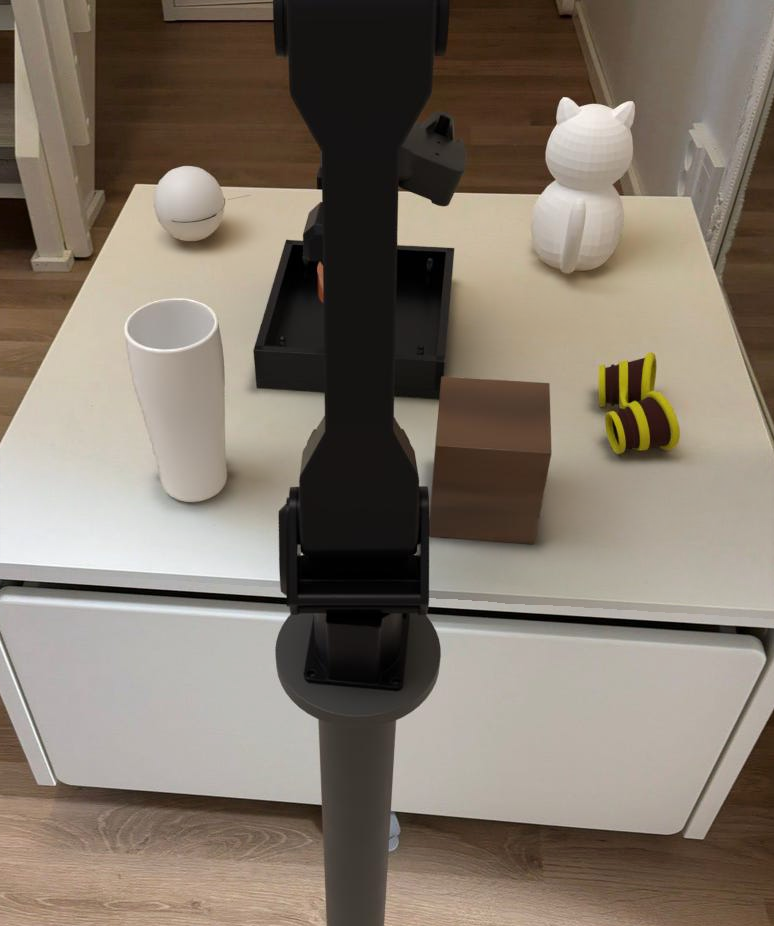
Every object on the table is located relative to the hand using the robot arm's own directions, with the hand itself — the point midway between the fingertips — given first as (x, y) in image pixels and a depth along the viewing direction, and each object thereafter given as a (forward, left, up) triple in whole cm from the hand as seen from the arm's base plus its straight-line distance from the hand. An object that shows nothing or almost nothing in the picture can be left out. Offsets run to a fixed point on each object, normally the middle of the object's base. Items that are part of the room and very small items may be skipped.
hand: (356, 282), depth 88 cm
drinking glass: (-19, +11, -8) cm, 23 cm away
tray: (+3, 0, -7) cm, 8 cm away
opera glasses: (-8, -24, -8) cm, 26 cm away
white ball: (+19, +18, -8) cm, 27 cm away
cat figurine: (+18, -20, -8) cm, 28 cm away
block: (-19, -12, -7) cm, 23 cm away
